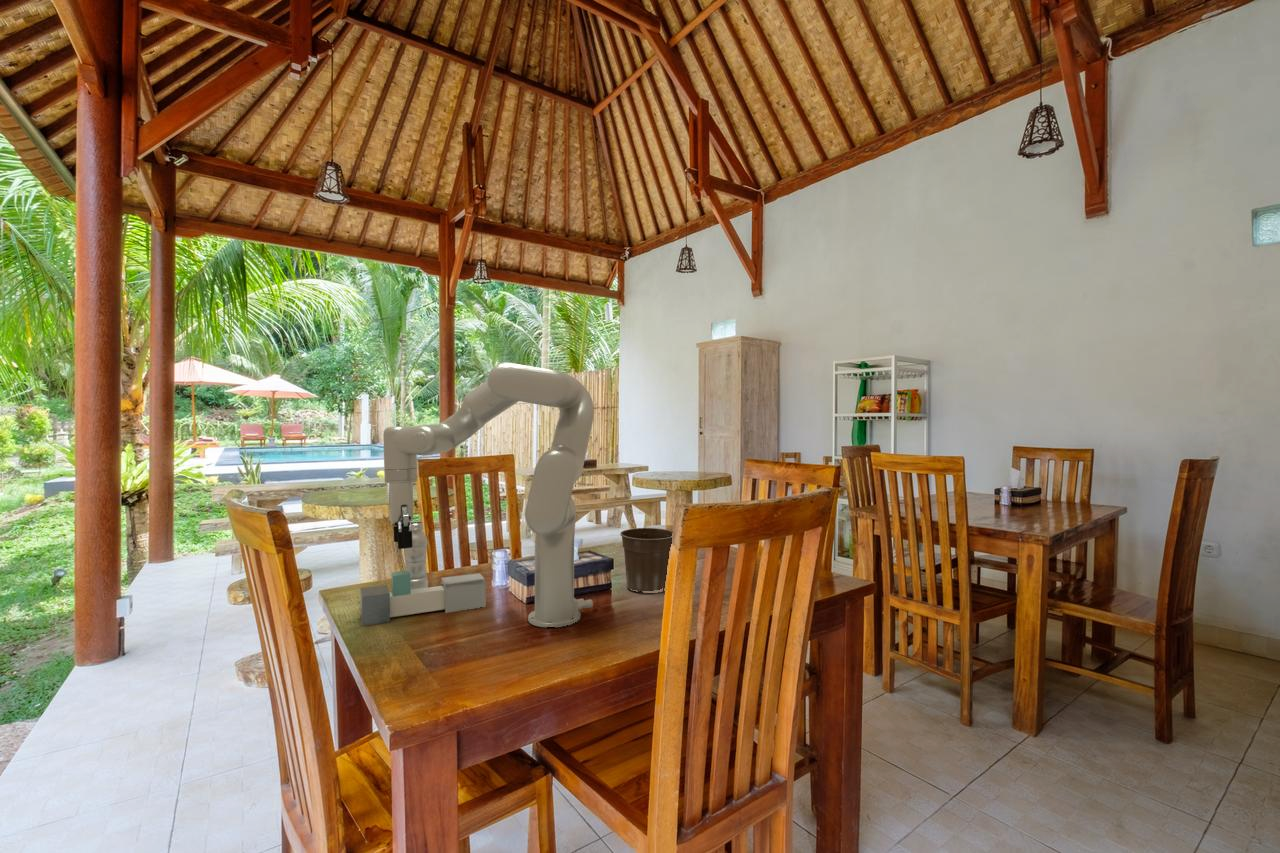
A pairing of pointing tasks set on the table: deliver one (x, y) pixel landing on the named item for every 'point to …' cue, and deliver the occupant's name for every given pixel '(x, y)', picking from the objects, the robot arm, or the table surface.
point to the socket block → (375, 605)
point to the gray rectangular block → (464, 592)
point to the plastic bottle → (417, 557)
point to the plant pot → (646, 557)
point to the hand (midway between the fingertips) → (403, 544)
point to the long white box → (413, 596)
